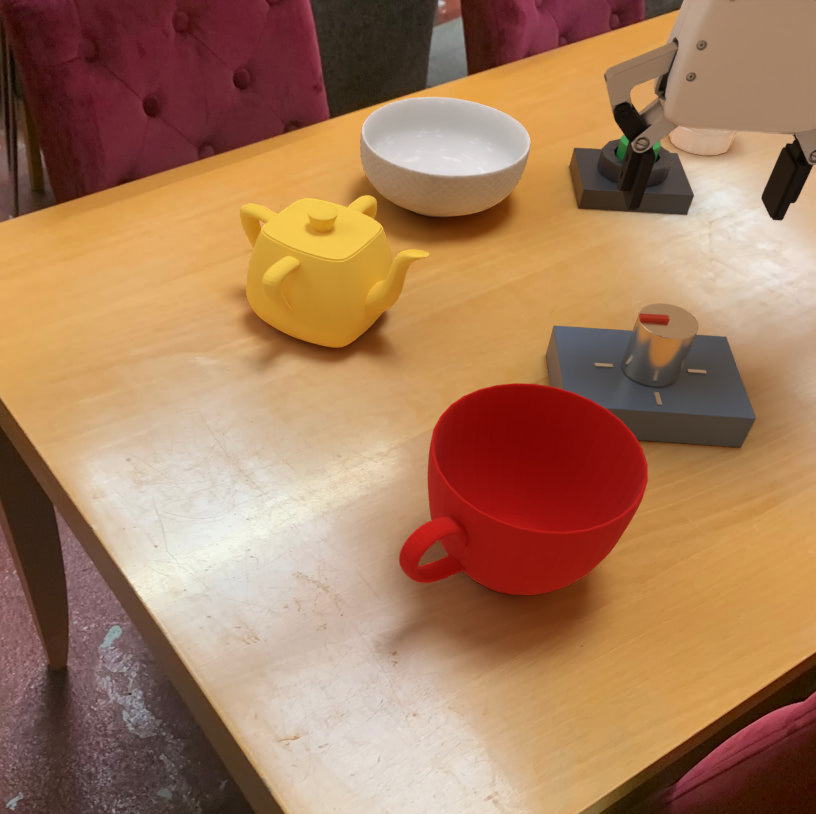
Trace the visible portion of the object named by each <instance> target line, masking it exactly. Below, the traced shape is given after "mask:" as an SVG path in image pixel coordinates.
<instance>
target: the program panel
mask: <svg viewBox="0 0 816 814" xmlns="http://www.w3.org/2000/svg"><path fill="white" fill-rule="evenodd" d="M632 331H633V329H632V330H631V329H615V328H602V327H601V328H598V327H585V326H570V325H569V326H567V325H553V326H552V331H551V334H550V337H549V342H548V345H547V348H546V353H545V356H546V357H545V358H546V364H547V370H548V378H549V386H551V387H556V388H559V389H563V390H566V391H570V392H573V393H576V394H578V395H580V396H583V397H585V398H588V399H590V400H592V401H594V402H595V403H597V404H599V405H601V406H602V407H604V408H606V409H607V410H609V411H610V412H611V413H613V414H614V415H615V416H616V417H617V418H619V419H620V420H621V421H622V422H623V423H624V424H625V425H626V426H627V427H628V428H629V429H630V431H631V432H632V433H633V434H634V435H635V437H636V439H637V440H638V441H644V442H645V441H648V442H660V443H673V444H688V445H701V446H702V445H703V446H715V447H717V446H718V447H729V448H730V447H731V448H742V447H743V445H744V443H745V441H746V439H747V437H748V435H749V433H750V432H751V430H752V428H753V425H754V424H755V422H756V420H757V417H756V414H755V412H754V408H753V406H752V403H751V400H750V397H749V394H748V392H747V389H746V386H745V384H744V381H743V379H742V375H741V373H740V370H739V367H738V365H737V362H736V360H735V356H734V354H733V350H732V348H731V346H730V343H729V340H728V338H727V336H722V335H709V334H696V337H695V339H694V341H693V344H692V346H691V348H690V351H689V353H688V356H687V358H686V360H685V363H684V365H683V368H682V370H681V372H680V375H679V377H678V379H677V380H676V381H675V382H674V383H672V384H670V385H668V386H663V387H652V386H647V385H643V384H640V383H638V382H636V381H634V380H632V379H631V378H629V377H628V376H627V375H626V374H625V372H624V371H623V369H622V365H621V363H622V359H623V356H624V354H625V351H626V348H627V345H628V342H629V339H630V336H631V334H632Z"/></svg>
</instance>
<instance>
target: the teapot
mask: <svg viewBox="0 0 816 814" xmlns="http://www.w3.org/2000/svg"><path fill="white" fill-rule="evenodd" d="M377 211H378V201H377V199H376V198H375V197H374V196H372V195H369V194H366V195H361V196H360V197H358V198H356V199H355V200H354V201H352V202H351V203H350V204H349V205H348V206H345V205H342V204H338V203H335V202H332V201H328V200H323V199H320V198H313V197H312V198H311V197H304V198H300V199H298V200H296V201H294V202H293V203H290V204H289V205H288V206H286V207H284V209H283V210H281V211H279V212H278V213H277V212H275V211H274V210H271V208H268V207H266V206H264V205H261V204H258V203H255V202H254V203H253V202H247V203H246V204H243V205H242V206H241V208H240V210H239V220H240V223H241V225H242V229H243V231H244V232H245V235H246V237H247V239H248V241H249V243H250V244H251V246H252V251H251V256H250V259H249V262H248V268H247V274H246V284H245V285H246V286H245V287H246V289H245V290H246V291H245V292H246V293H245V294H246V298H247V302H248V304H249V306H250V307H251V309H252V311H253V312H254V313H255V314H256V316H257V317H258V318H259V319H261V320H262V321H263V322H265V323H266V324H268V325H270V326H271V327H273V328H274V329H276V330H278V331H280V332H282V333H284V334H286V335H288V336H289V337H293V338H295V339H298V340H301V341H304V342H308V343H311V344H315V345H318V346H324V347H328V348H334V349H335V348H343V347H346V346H348V345H350V344H351V343H353V342H355V340H357V339H358V338H359V337H360V336H362V335H363V334H365V332H366V331H367V330H369V329H370V328H371V327H372V326H373V325H374V324H375V323H376V321H377V320H378V319H379V318H380V317H381V316H382V314H383V313H384V312H386V311H388V310H389V309H390V308H392V307H393V306H394V305H395V303H397V301H398V300H399V298H400V296H401V294H402V293H403V289H404V286H405V281H406V276H407V274H408V273H407V272H408V270H409V268H410V267H411V265H412V264H413V263H415V262H416V261H419V260H422V259H425V258H427V257H429V255H430V253H429V252H428V251H425V250H422V249H414V248H413V249H411V248H410V249H405V250H402V251H400V252H398V254H396V255H395V257H394V258H393V256H392V253H391V248H390V245H389V242H388V238H387V235H386V232H385V228H384V227H383V226H382V224H381V223H380V222H378V221H377V220H376V215H377ZM260 222H262V223H264V225H263V226H261V224H260Z"/></svg>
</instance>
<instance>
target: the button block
mask: <svg viewBox="0 0 816 814" xmlns="http://www.w3.org/2000/svg"><path fill="white" fill-rule="evenodd" d="M620 139H621V138H617V139H614V140H613V139H612V140H609V141H607V143H605V145H603V146H602V148H589V147H573V150H572V153H571V158H570V162H569V166H568V168H569V171H570V176H571V181H572V185H573V191H574V194H575V199H576V204H577V207H578V209H579V210H593V211H594V210H595V211H612V212H613V211H614V212H629V213H630V212H631V213H647V214H665V215H667V214H668V215H681V216H683V215H684V216H687V215H688V213H689V210H690V208H691V205H692V203H693V199H694V197H695V194H694V192H693V189H692V186H691V184H690V181H689V179H688V176H687V174H686V171H685V168H684V166H683V164H682V160H681V159H680V156H679V154H678V152H670V151H669V150H667V149H666V148H665V147H663V146H662V145H661V146H660V150H659V153H658V156H657V159H656V162H655V163H654V165H653V168H652V171H651V174H650V177H649V180H648V183H647V186H646V189H645V192H644V195H643V198H642V201H641V204H640V207H639V208H637V209H636V210H627V207H626V203H625V199H624V196H623V192H622V191H618V188H617V180H618V175H619V172H620V169H621V165H622V162H623V161H622V160H621V159H619V158H618V157H617V156H616V153H617V150H618V146H619V143H620Z"/></svg>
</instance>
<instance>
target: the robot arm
mask: <svg viewBox="0 0 816 814" xmlns="http://www.w3.org/2000/svg"><path fill="white" fill-rule="evenodd" d="M681 3H682V4H681V6H680V8H679V10H678V13H677V16H676V18H675V21H674V23H673V26H672V28H671V30H670V33H669V36H668V39H667V40H666V44H664V45H662V46H659V47H657V48H654V49H652V50H650V51H647V52H644V53H642V54H640V55H637V56H635V57H632V58H629V59H627V60H625V61H622V62H620V63H617V64H615V65H613V66H610V67H609V68H607V69H606V70H605V72H604V74H603V75H604V76H603V80H604V83H605V87H606V88H605V89H606V91H607V96H608V101H609V105H610V108H611V109H610V110H611V113H612V115H613V119H614V121H615V123H616V125H617V126H618V128H619V129H620V131H621V132H622V133H623V135H625V136H626V138H627V139H628V141H629V142H628V145H627V149H626V152H625V155H624V159H623V162H622V165H621V169H620V172H619V175H618V180H617V188H618V191H622V192H623V196H624V199H625V203H626V207H627V210H636V209H637V208H639V207H640V204H641V201H642V198H643V195H644V192H645V189H646V186H647V183H648V180H649V177H650V174H651V171H652V168H653V165H654V162H655V153H654V150H653V146H654V145H655V144H656V143H658V142H659V141H660V142H661V141H662V140H663V139H664V138H665V137H667V136H669V135H670V132H672V131H673V130H674V129H675V128H677V127H678V126H681V127H687V128H696V129H709V130H723V131H737V133H739V132H740V133H754V134H769V135H770V134H772V135H792V136H793V139H794V140H792V142H791V143H790V142H786V144H785V146H784V147H782V148H781V150H780V153H779V155H778V156H777V159H776V160H775V164H774V166H773V169H772V170H771V173H770V175H769V178H768V180H767V182H766V184H765V186H764V189H763V191H762V194H761V201H762V204H763V206H764V208H765V210H766V212H767V214H768V216H769V218H770V219H771V220H772V221H780V222H782V221H783V220H784V219H785V216H786V214H787V212H788V210H789V207H790V205H791V204H795V203H796V202H797V201H798V199H799V197H800V195H801V193H802V190H803V188H804V186H805V184H806V183H807V180H808V178H809V176H810V173H811V171H812V169H813V167H814V166H816V0H683V1H682V2H681ZM653 79H654V82H653V92H654V94H655V95H656V96H657V97H656V98H655V99H653V100H652V101H651V102H650V103H649V104H647V105H646V106H645V107H643V109H641V110H640V111H638V110H637V109H636V107H635V106H634V104H633V102H632V97H631V92H632V90H633V89H634V87H637V86H639V85H641V84H643V83H646V82H648V81H651V80H653Z"/></svg>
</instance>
